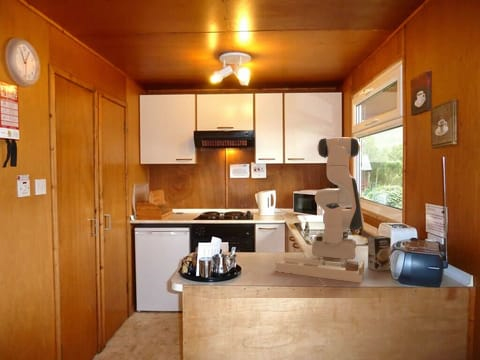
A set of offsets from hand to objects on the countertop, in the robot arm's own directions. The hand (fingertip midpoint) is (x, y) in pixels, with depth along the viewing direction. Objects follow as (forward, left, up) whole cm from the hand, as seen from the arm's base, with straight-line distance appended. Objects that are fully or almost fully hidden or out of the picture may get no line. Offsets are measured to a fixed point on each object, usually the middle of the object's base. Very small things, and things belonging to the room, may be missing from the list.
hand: (333, 266), depth 161 cm
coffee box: (-20, +19, -4) cm, 28 cm away
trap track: (0, -7, -4) cm, 8 cm away
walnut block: (0, +8, -1) cm, 9 cm away
